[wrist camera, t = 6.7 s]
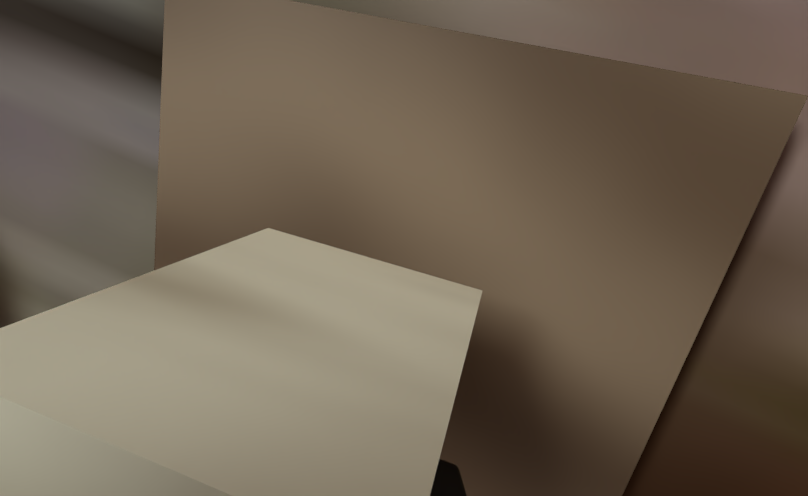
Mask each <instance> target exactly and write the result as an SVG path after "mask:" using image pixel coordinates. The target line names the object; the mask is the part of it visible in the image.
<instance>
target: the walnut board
mask: <svg viewBox="0 0 808 496" xmlns="http://www.w3.org/2000/svg"><path fill="white" fill-rule="evenodd" d="M807 97H808V96H806V95H801V94H795V93H790V92H785V91H779V90H774V89H768V88H763V87H757V86H752V85H746V84H741V83H736V82H730V81H725V80H719V79H714V78H708V77H703V76H698V75H692V74H687V73H681V72H676V71H670V70H665V69H660V68H654V67H649V66H643V65H638V64H632V63H627V62H622V61H616V60H611V59H605V58H600V57H594V56H589V55H583V54H578V53H573V52H567V51H562V50H556V49H551V48H545V47H540V46H535V45H529V44H524V43H518V42H513V41H507V40H502V39H497V38H491V37H486V36H480V35H475V34H469V33H464V32H459V31H453V30H448V29H442V28H437V27H431V26H426V25H420V24H415V23H410V22H404V21H399V20H393V19H388V18H382V17H377V16H372V15H366V14H361V13H355V12H350V11H344V10H339V9H334V8H328V7H323V6H317V5H312V4H306V3H301V2H296V1H290V0H165V8H164V34H163V59H162V85H161V111H160V136H159V162H158V188H157V213H156V239H155V265H154V270H157V269H160V268H162V267H165V266H168V265H170V264H173V263H176V262H178V261H181V260H184V259H186V258H189V257H192V256H194V255H197V254H200V253H203V252H205V251H208V250H211V249H213V248H216V247H219V246H221V245H224V244H227V243H229V242H232V241H235V240H237V239H240V238H243V237H245V236H248V235H251V234H253V233H256V232H259V231H261V230H264V229H267V228H270V229H274V230H277V231H281V232H284V233H287V234H291V235H294V236H298V237H301V238H305V239H308V240H311V241H315V242H318V243H322V244H325V245H328V246H332V247H335V248H339V249H342V250H346V251H349V252H352V253H356V254H359V255H363V256H366V257H369V258H373V259H376V260H380V261H383V262H387V263H390V264H393V265H397V266H400V267H404V268H407V269H410V270H414V271H417V272H421V273H424V274H428V275H431V276H434V277H438V278H441V279H445V280H448V281H451V282H455V283H458V284H462V285H465V286H469V287H472V288H475V289H479V290H482V295H481V299H480V303H479V307H478V311H477V315H476V318H475V322H474V326H473V330H472V334H471V338H470V342H469V346H468V350H467V353H466V357H465V361H464V365H463V369H462V373H461V377H460V381H459V385H458V388H457V392H456V396H455V400H454V404H453V408H452V412H451V416H450V420H449V423H448V427H447V431H446V435H445V439H444V443H443V447H442V451H441V455H440V458H439V459H442V460H444V461H447V462H450V463H453V464H455V465H457V467H458V468H459V471H460V474H461V478H462V481H463V484H464V488H465V491H466V495H467V496H622V495H623V493H624V491H625V488H626V486H627V484H628V482H629V480H630V478H631V476H632V473H633V471H634V469H635V467H636V465H637V463H638V460H639V458H640V456H641V454H642V452H643V450H644V448H645V445H646V443H647V441H648V439H649V437H650V435H651V433H652V430H653V428H654V426H655V424H656V422H657V420H658V418H659V415H660V413H661V411H662V409H663V407H664V405H665V402H666V400H667V398H668V396H669V394H670V392H671V390H672V387H673V385H674V383H675V381H676V379H677V377H678V375H679V372H680V370H681V368H682V366H683V364H684V362H685V360H686V357H687V355H688V353H689V351H690V349H691V347H692V344H693V342H694V340H695V338H696V336H697V334H698V332H699V329H700V327H701V325H702V323H703V321H704V319H705V317H706V314H707V312H708V310H709V308H710V306H711V304H712V302H713V299H714V297H715V295H716V293H717V291H718V289H719V287H720V284H721V282H722V280H723V278H724V276H725V274H726V271H727V269H728V267H729V265H730V263H731V261H732V259H733V256H734V254H735V252H736V250H737V248H738V246H739V244H740V241H741V239H742V237H743V235H744V233H745V231H746V229H747V226H748V224H749V222H750V220H751V218H752V216H753V213H754V211H755V209H756V207H757V205H758V203H759V201H760V198H761V196H762V194H763V192H764V190H765V188H766V186H767V183H768V181H769V179H770V177H771V175H772V173H773V171H774V168H775V166H776V164H777V162H778V160H779V158H780V155H781V153H782V151H783V149H784V147H785V145H786V143H787V140H788V138H789V136H790V134H791V132H792V130H793V128H794V125H795V123H796V121H797V119H798V117H799V115H800V113H801V110H802V108H803V106H804V104H805V102H806V100H807Z"/></svg>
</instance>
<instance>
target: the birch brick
mask: <svg viewBox="0 0 808 496" xmlns="http://www.w3.org/2000/svg"><path fill="white" fill-rule="evenodd" d="M481 295H482V290H479V289H475V288H472V287H469V286H465V285H462V284H458V283H455V282H451V281H448V280H445V279H441V278H438V277H434V276H431V275H428V274H424V273H421V272H417V271H414V270H410V269H407V268H404V267H400V266H397V265H393V264H390V263H387V262H383V261H380V260H376V259H373V258H369V257H366V256H363V255H359V254H356V253H352V252H349V251H346V250H342V249H339V248H335V247H332V246H328V245H325V244H322V243H318V242H315V241H311V240H308V239H305V238H301V237H298V236H294V235H291V234H287V233H284V232H281V231H277V230H274V229H270V228H267V229H264V230H261V231H259V232H256V233H253V234H251V235H248V236H245V237H243V238H240V239H237V240H235V241H232V242H229V243H227V244H224V245H221V246H219V247H216V248H213V249H211V250H208V251H205V252H203V253H200V254H197V255H194V256H192V257H189V258H186V259H184V260H181V261H178V262H176V263H173V264H170V265H168V266H165V267H162V268H160V269H157V270H154V271H152V272H149V273H146V274H144V275H141V276H138V277H136V278H133V279H130V280H128V281H125V282H122V283H120V284H117V285H114V286H112V287H109V288H106V289H104V290H101V291H98V292H96V293H93V294H90V295H88V296H85V297H82V298H80V299H77V300H74V301H72V302H69V303H66V304H64V305H61V306H58V307H56V308H53V309H50V310H48V311H45V312H42V313H40V314H37V315H34V316H32V317H29V318H26V319H24V320H21V321H18V322H16V323H13V324H10V325H8V326H5V327H2V328H0V496H430V493H431V490H432V486H433V482H434V478H435V474H436V470H437V466H438V462H439V458H440V455H441V451H442V447H443V443H444V439H445V435H446V431H447V427H448V423H449V420H450V416H451V412H452V408H453V404H454V400H455V396H456V392H457V388H458V385H459V381H460V377H461V373H462V369H463V365H464V361H465V357H466V353H467V350H468V346H469V342H470V338H471V334H472V330H473V326H474V322H475V318H476V315H477V311H478V307H479V303H480V299H481Z"/></svg>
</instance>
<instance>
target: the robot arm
mask: <svg viewBox="0 0 808 496" xmlns="http://www.w3.org/2000/svg"><path fill="white" fill-rule="evenodd" d="M430 496H467V495H466V491H465V488H464V484H463V481H462V478H461V474H460V471H459V468H458V467H457V465H455V464H453V463H450V462H447V461H444V460H442V459H439V462H438V466H437V470H436V474H435V478H434V482H433V486H432V490H431V493H430Z"/></svg>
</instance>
